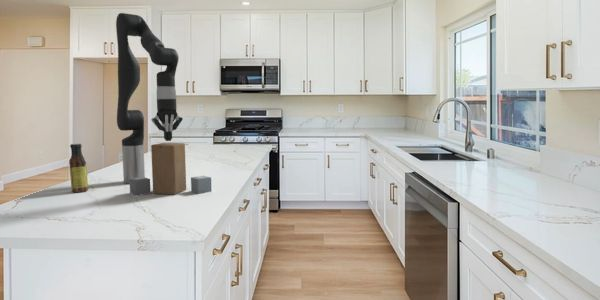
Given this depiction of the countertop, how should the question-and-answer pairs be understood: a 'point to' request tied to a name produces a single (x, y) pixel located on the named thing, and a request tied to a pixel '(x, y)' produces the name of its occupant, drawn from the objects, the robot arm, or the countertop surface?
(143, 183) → the charcoal marked block
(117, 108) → the robot arm
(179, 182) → the wooden block
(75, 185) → the sauce bottle
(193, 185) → the slate marked block
